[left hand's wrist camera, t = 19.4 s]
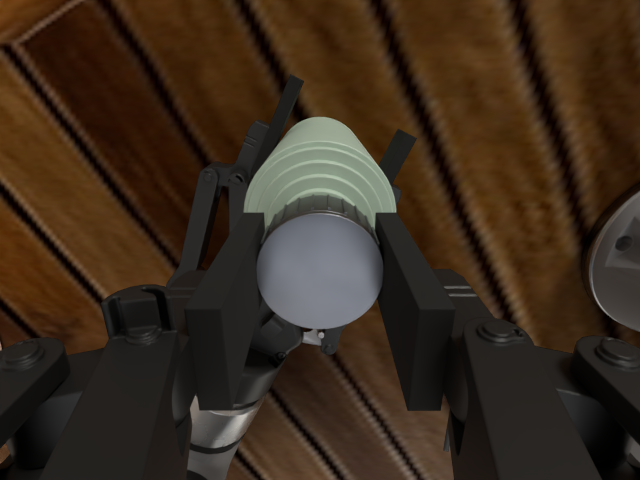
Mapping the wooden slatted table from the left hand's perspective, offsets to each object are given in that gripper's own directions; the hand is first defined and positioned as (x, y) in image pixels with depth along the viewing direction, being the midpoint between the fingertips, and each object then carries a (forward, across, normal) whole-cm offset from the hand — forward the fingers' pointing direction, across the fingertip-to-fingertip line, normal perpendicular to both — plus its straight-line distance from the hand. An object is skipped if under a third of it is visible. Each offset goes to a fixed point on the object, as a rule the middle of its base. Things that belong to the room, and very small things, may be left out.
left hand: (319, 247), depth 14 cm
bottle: (+18, 0, 0) cm, 18 cm away
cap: (-2, 0, 0) cm, 2 cm away
